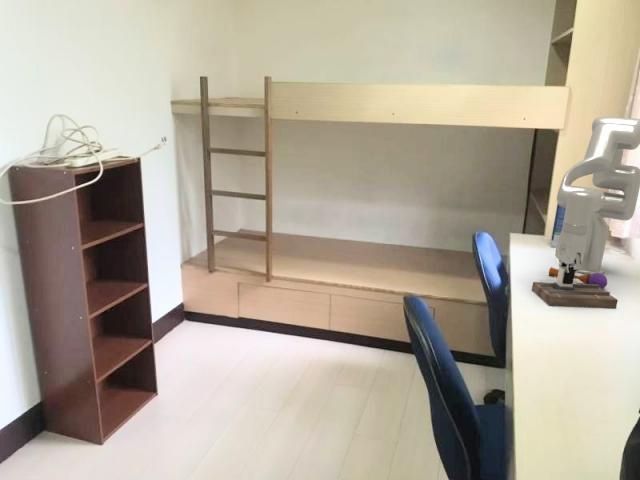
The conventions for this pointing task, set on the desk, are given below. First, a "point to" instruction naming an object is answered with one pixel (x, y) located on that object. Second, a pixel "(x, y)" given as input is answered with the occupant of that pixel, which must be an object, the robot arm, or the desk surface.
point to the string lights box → (557, 225)
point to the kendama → (585, 278)
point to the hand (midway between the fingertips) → (564, 281)
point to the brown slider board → (575, 296)
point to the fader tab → (559, 283)
